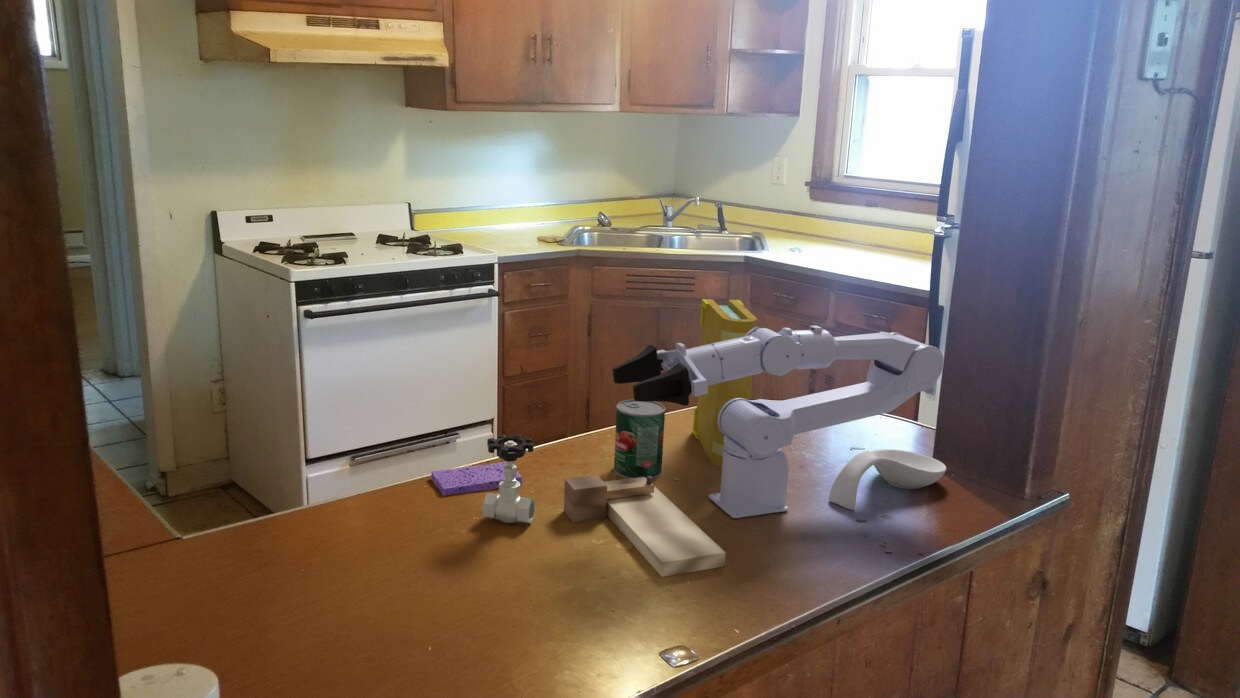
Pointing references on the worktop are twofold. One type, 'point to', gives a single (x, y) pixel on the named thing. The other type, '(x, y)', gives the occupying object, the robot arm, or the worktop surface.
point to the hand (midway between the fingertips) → (623, 384)
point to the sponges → (470, 478)
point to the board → (663, 532)
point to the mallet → (596, 496)
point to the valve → (509, 482)
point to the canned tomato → (639, 439)
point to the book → (718, 328)
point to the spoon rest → (885, 473)
